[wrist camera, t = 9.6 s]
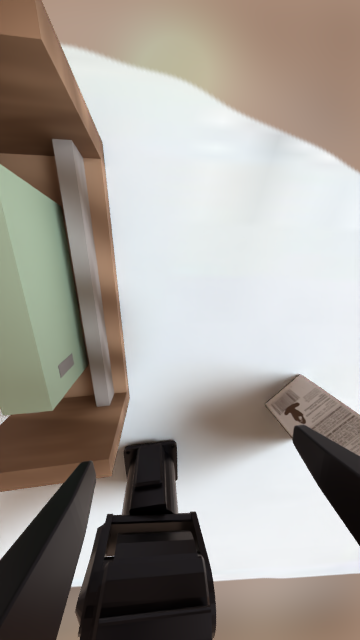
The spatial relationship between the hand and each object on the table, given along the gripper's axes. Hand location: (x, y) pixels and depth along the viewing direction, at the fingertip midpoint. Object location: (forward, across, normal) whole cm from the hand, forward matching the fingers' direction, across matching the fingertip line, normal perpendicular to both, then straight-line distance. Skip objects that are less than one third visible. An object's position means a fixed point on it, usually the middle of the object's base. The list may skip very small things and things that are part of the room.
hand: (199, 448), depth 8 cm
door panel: (+11, +10, -6) cm, 16 cm away
